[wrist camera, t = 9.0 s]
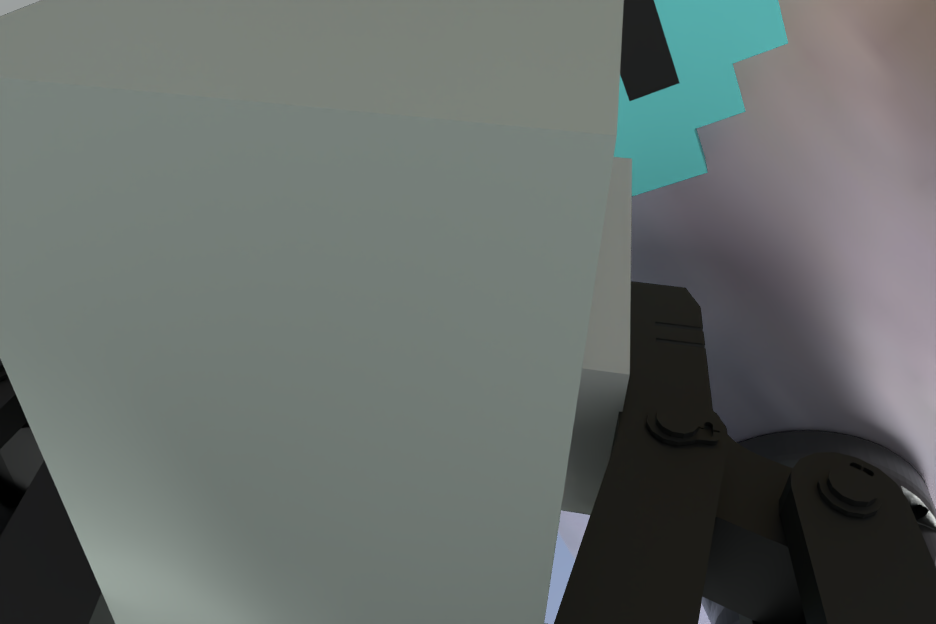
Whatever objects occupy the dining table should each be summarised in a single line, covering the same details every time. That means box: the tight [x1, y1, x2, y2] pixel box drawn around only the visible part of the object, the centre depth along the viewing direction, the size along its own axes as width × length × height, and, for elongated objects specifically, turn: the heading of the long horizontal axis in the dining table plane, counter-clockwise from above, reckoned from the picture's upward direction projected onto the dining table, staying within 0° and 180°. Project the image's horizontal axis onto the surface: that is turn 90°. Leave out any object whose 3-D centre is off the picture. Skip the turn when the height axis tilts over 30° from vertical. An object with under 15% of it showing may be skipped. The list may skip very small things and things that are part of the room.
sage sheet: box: [0, 0, 624, 624], centre depth 13 cm, size 12×4×14 cm, turn 179°
